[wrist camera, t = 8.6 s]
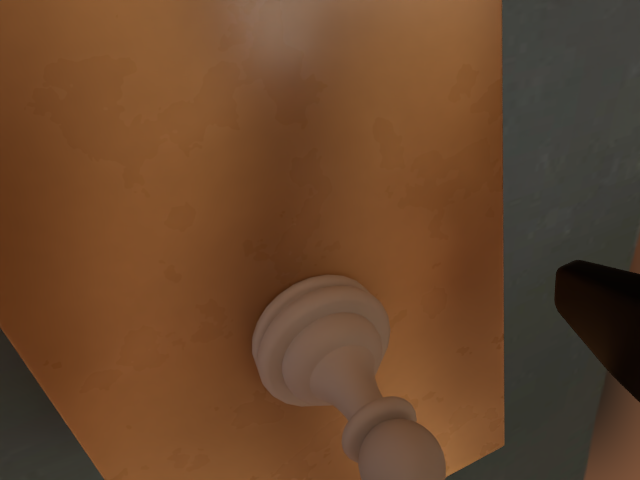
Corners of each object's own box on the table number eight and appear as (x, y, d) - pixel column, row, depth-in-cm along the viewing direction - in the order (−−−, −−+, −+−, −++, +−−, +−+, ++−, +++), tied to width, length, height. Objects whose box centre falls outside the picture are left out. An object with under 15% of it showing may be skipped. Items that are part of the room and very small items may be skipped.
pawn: (297, 402, 12) (393, 586, 9) (218, 338, 10) (302, 534, 7) (395, 320, 12) (527, 475, 9) (331, 243, 10) (466, 398, 7)
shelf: (311, -137, 14) (502, -159, 8) (383, 305, 22) (505, 445, 16) (-97, -39, 12) (-213, 21, 6) (148, 410, 20) (195, 613, 14)
